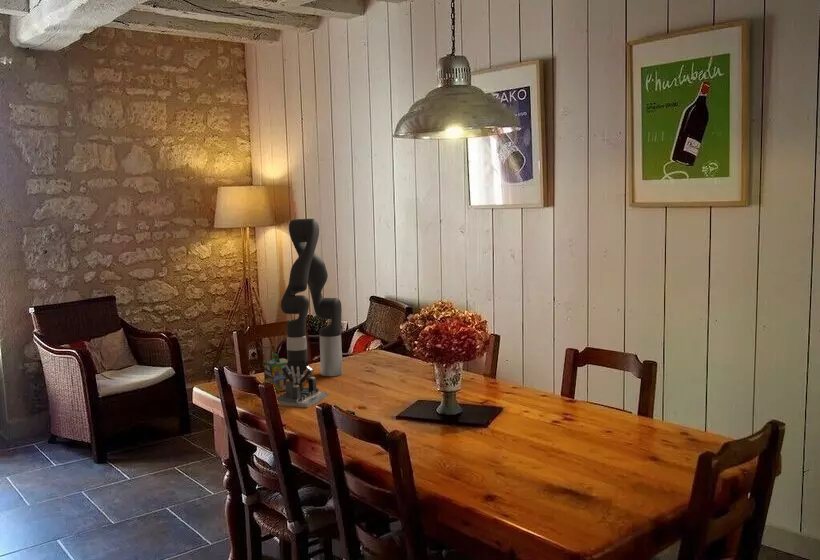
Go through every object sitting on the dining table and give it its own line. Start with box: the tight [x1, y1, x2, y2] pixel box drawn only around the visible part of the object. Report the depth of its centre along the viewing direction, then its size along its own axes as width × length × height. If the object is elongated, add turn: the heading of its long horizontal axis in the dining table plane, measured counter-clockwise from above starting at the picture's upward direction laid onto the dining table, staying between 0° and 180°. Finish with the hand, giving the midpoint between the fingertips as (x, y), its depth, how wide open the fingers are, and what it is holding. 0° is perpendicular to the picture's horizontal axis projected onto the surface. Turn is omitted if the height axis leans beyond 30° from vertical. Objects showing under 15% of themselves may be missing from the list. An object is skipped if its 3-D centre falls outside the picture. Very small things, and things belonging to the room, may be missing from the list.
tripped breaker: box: [285, 379, 294, 394], centre depth 284 cm, size 2×2×6 cm
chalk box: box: [262, 352, 294, 393], centre depth 298 cm, size 9×9×15 cm
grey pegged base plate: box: [277, 376, 329, 408], centre depth 282 cm, size 17×15×8 cm
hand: (298, 392), depth 283 cm, fingers closed
